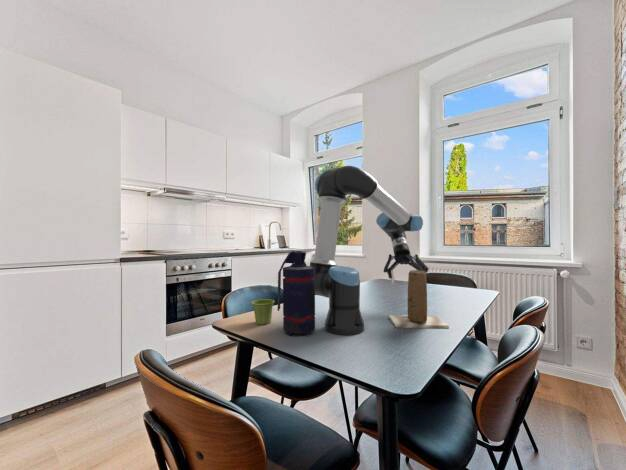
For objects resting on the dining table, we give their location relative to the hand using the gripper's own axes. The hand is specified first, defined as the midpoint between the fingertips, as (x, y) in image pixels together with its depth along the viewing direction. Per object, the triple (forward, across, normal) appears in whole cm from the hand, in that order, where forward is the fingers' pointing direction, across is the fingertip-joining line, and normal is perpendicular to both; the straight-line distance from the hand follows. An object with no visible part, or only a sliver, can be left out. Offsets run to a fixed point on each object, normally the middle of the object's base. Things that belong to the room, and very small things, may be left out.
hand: (408, 283), depth 136 cm
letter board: (+18, 0, +1) cm, 18 cm away
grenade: (+28, -48, -8) cm, 56 cm away
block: (+18, 0, +1) cm, 18 cm away
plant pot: (+20, -63, 0) cm, 66 cm away
